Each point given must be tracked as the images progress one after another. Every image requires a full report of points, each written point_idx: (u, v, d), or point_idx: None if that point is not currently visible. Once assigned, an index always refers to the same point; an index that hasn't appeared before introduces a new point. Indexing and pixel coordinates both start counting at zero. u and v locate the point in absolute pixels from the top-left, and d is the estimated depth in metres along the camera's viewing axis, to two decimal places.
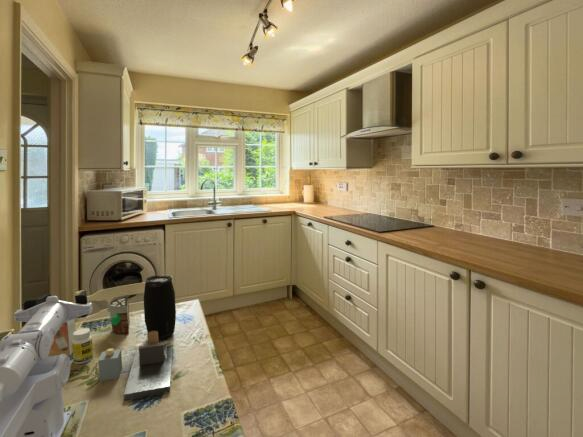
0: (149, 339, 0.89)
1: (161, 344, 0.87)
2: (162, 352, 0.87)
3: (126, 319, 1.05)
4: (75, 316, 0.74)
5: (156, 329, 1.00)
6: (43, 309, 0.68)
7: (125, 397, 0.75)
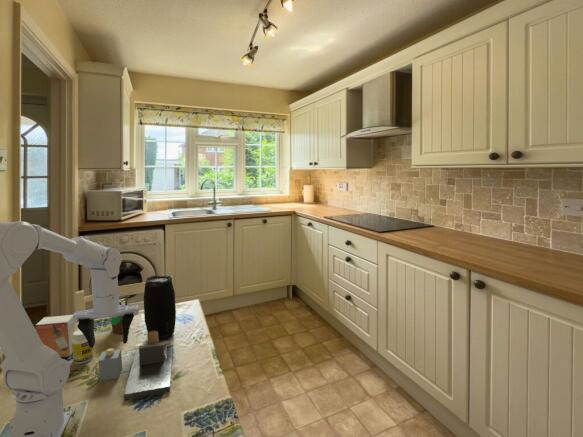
0: (149, 339, 0.89)
1: (161, 344, 0.87)
2: (162, 352, 0.87)
3: None
4: None
5: (156, 329, 1.00)
6: None
7: (125, 397, 0.75)
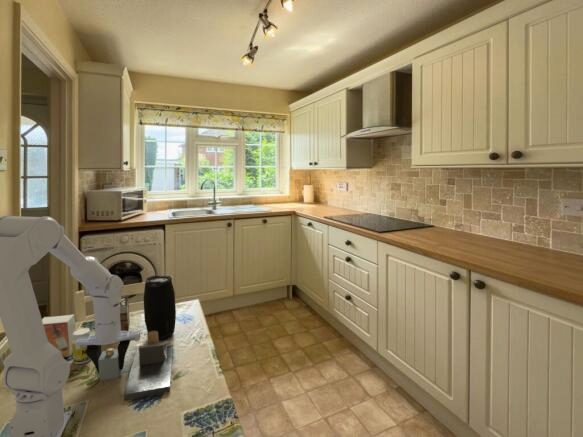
0: (149, 339, 0.89)
1: (161, 344, 0.87)
2: (162, 352, 0.87)
3: (126, 319, 1.05)
4: None
5: (156, 329, 1.00)
6: None
7: (125, 397, 0.75)
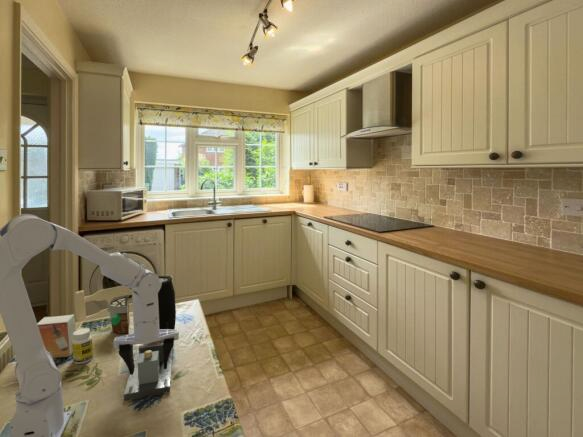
0: None
1: (161, 344, 0.87)
2: (162, 352, 0.87)
3: (126, 319, 1.05)
4: None
5: None
6: None
7: (125, 397, 0.75)
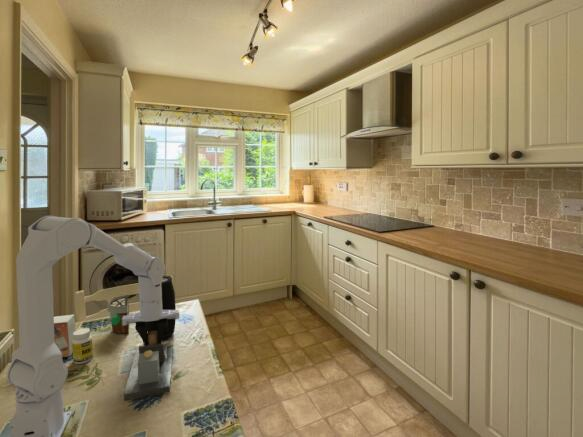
0: (149, 339, 0.89)
1: (161, 344, 0.87)
2: (162, 352, 0.87)
3: None
4: None
5: (156, 329, 1.00)
6: None
7: (125, 397, 0.75)
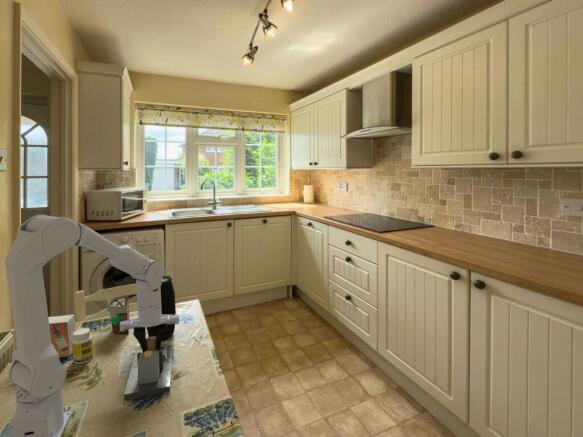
0: (148, 345, 0.86)
1: (160, 350, 0.84)
2: (161, 359, 0.84)
3: (126, 319, 1.05)
4: None
5: None
6: None
7: (125, 397, 0.75)
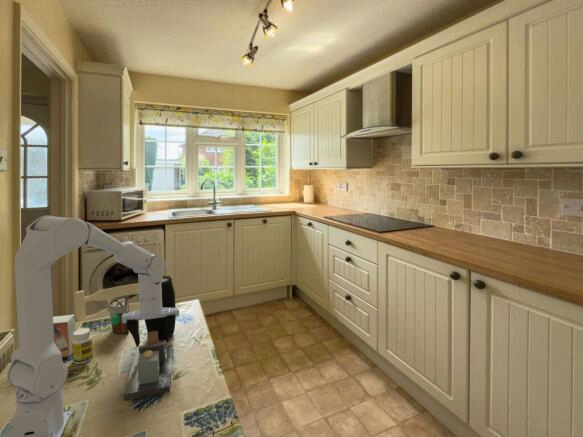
0: (149, 339, 0.89)
1: (161, 344, 0.87)
2: (162, 352, 0.87)
3: None
4: None
5: (156, 329, 1.00)
6: None
7: (125, 397, 0.75)
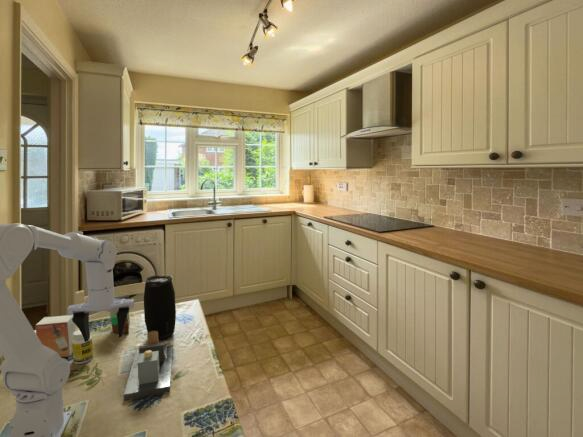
0: (149, 339, 0.89)
1: (161, 344, 0.87)
2: (162, 352, 0.87)
3: (126, 319, 1.05)
4: None
5: (156, 329, 1.00)
6: None
7: (125, 397, 0.75)
